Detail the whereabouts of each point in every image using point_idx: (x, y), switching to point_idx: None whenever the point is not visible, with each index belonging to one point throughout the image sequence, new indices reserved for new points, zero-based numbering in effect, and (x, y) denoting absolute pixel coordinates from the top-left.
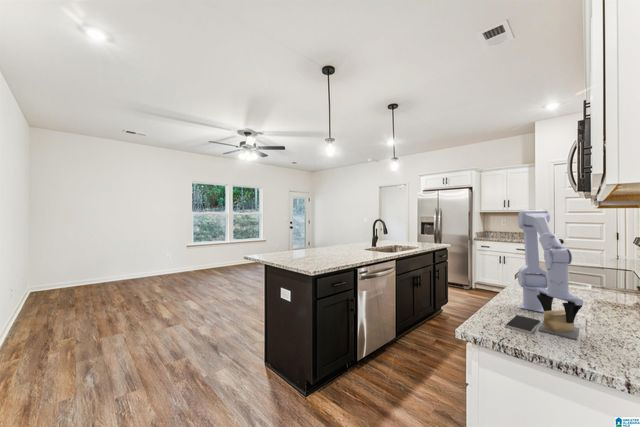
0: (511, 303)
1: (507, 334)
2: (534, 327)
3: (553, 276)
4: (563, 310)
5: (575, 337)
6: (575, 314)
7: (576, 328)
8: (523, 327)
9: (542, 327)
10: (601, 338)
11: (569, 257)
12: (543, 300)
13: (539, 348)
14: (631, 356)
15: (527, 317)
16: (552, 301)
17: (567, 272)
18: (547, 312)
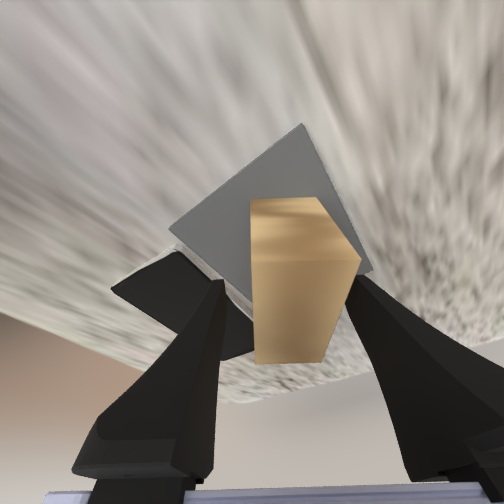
0: None
1: (265, 371)
2: (251, 318)
3: None
4: (274, 269)
5: (364, 264)
6: (415, 322)
7: (304, 154)
8: (246, 342)
9: (251, 293)
10: (437, 134)
11: None
12: (213, 426)
13: (343, 363)
14: None
15: (136, 271)
16: (199, 365)
17: None
18: (276, 362)
